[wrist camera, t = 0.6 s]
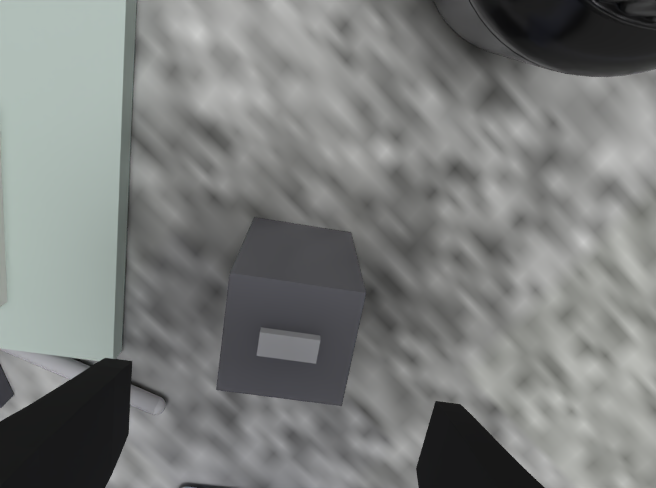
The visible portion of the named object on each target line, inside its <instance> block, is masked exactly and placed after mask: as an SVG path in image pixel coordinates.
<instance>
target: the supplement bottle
mask: <svg viewBox="0 0 656 488" xmlns="http://www.w3.org/2000/svg"><path fill="white" fill-rule="evenodd" d="M433 1H434V3H435V5H436V7H437V9H438V11H439V12H440V14H441V15H442V17H443V18H444V20H445V21H446V22H447V24H448V25H449V26H450V27H451V28H452V29H453V30H454V31H455V32H456V33H457V34H458V35H459V36H461V37H462V38H463V39H465V40H466V41H468V42H469V43H471V44H473V45H475V46H477V47H479V48H481V49H483V50H486V51H489V52H491V53H494V54H498V55H501V56H504V57H508V58H511V59H515V60H518V61H521V62H525V63H528V64H532V65H535V66H538V67H542V68H545V69H549V70H552V71H557V72H561V73H566V74H572V75H580V76H589V77H613V76H625V75H631V74H637V73H643V72H646V71H650V70H654V69H656V0H433Z"/></svg>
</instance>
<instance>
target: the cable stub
mask: <svg viewBox="0 0 656 488" xmlns="http://www.w3.org/2000/svg"><path fill="white" fill-rule="evenodd" d="M0 350H2V351H4V352H7V353H9V354H11V355H14V356H16V357H18V358H21V359H23V360H25V361H28V362H30V363H33V364H35V365H37V366H40V367H42V368H44V369H47V370H49V371H51V372H54V373H56V374H58V375H61V376H63V377H65V378H68V379H70V380H71V379H72V378H74V377H75V376H77V375H78V374H80V373H81V372H83V371H85V370H86V369H88V368H89V367H90V366H88V365H86V364H83V363H81V362H79V361H77V360H74V359H72V358H70V357H63V356H55V355H48V354H40V353H32V352H25V351H17V350H9V349H2V348H0ZM130 405H131V406H133V407H136V408H138V409H140V410H143V411H145V412H147V413H150V414H152V415H158V414H160V413H162V412H163V411H164V409H165V401H164V399H163V398H161V397H159V396H157V395H155V394H152V393H150V392H148V391H146V390H143V389H141V388H139V387H136V386H134V385H132V384H131V393H130Z"/></svg>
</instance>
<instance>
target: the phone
mask: <svg viewBox="0 0 656 488" xmlns="http://www.w3.org/2000/svg"><path fill="white" fill-rule="evenodd" d="M13 395H14V394H13V392H12V390H11V388H10V386H9V383H8V381H7V379H6V377H5V375H4V373H3V371H2V368H1V366H0V408H2V407H3V406H4V405H5V404H6V402H7V401H8V400H9V399H10V398H11V397H12V396H13Z"/></svg>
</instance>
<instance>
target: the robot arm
mask: <svg viewBox="0 0 656 488" xmlns="http://www.w3.org/2000/svg"><path fill="white" fill-rule="evenodd" d="M131 374H132V361H126V360H118V359H111V358H104V359H102V360H101V361H99V362H97V363H96V364H94V365H92V366H91V367H89V368H88V369H86V370H85V371H83V372H81V373H80V374H78V375H77V376H75V377H74V378H72V379H71V380H69V381H67V382H66V383H64V384H63V385H61V386H60V387H58V388H56V389H55V390H53V391H51V392H50V393H48V394H47V395H45V396H43V397H42V398H40V399H39V400H37V401H35V402H34V403H32V404H30V405H29V406H27V407H25V408H23V409H22V410H20V411H18V412H16V413H15V414H13V415H11V416H9V417H7V418H6V419H4V420H2V421H0V488H105V486H106V485H107V483H108V481H109V479H110V477H111V475H112V473H113V470H114V468H115V466H116V463H117V461H118V459H119V456H120V454H121V451H122V449H123V446H124V444H125V441H126V439H127V436H128V432H129V412H130V393H131ZM416 470H417V478H418V485H419V488H544V487H543V486H542V485H541V484H540V483H539V482H538V481H537V480H536V479H535V478H534V477H533V476H532V475H531V474H529V473H528V472H527V471H526V470H525V469H524V468H523V467H522V466H521V465H520V464H519V463H518V462H517V461H516V460H515V459H514V458H513V457H512V456H511V455H510V454H509V453H508V452H507V451H506V450H505V449H504V448H503V447H502V446H501V445H500V444H499V443H498V442H497V441H496V440H495V439H494V438H493V437H492V435H491V434H490V433H489V432H488V431H487V430H486V429H485V428H484V427H483V426H482V425H481V424H480V423H479V422H478V421H477V420H476V419H475V418H474V417H473V416H472V415H471V414H470V413H469V412H468V411H467V410H466V409H465V408H464V407H463V406H461V405H460V404H454V403H446V402H439V401H436V402H435V405H434V409H433V412H432V416H431V419H430V423H429V426H428V430H427V433H426V436H425V440H424V443H423V447H422V450H421V454H420V457H419V461H418V464H417V468H416ZM182 488H195V487H182Z"/></svg>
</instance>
